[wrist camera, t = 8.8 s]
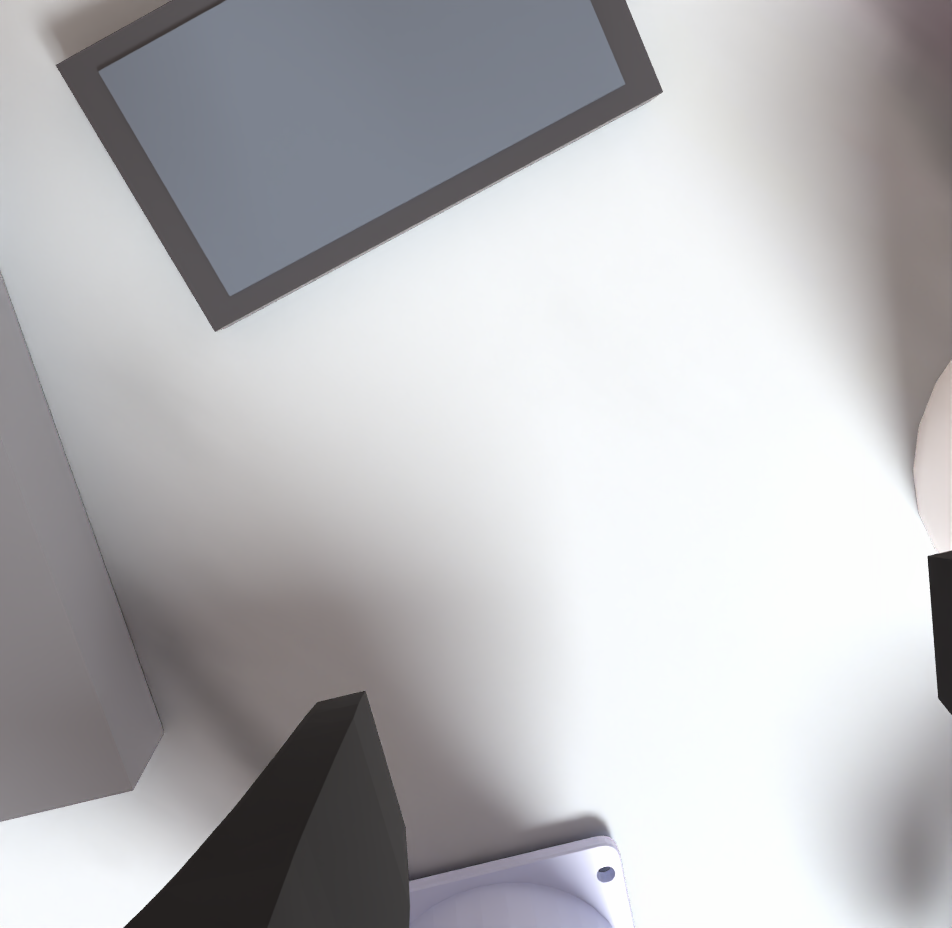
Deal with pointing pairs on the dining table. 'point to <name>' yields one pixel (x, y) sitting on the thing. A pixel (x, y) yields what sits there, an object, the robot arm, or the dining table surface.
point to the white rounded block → (936, 464)
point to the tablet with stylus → (339, 121)
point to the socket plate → (57, 620)
